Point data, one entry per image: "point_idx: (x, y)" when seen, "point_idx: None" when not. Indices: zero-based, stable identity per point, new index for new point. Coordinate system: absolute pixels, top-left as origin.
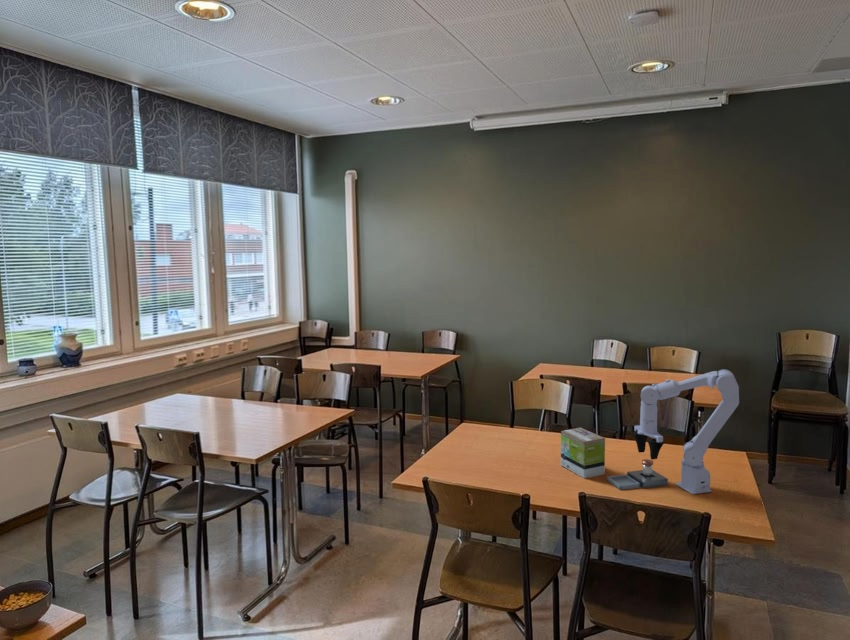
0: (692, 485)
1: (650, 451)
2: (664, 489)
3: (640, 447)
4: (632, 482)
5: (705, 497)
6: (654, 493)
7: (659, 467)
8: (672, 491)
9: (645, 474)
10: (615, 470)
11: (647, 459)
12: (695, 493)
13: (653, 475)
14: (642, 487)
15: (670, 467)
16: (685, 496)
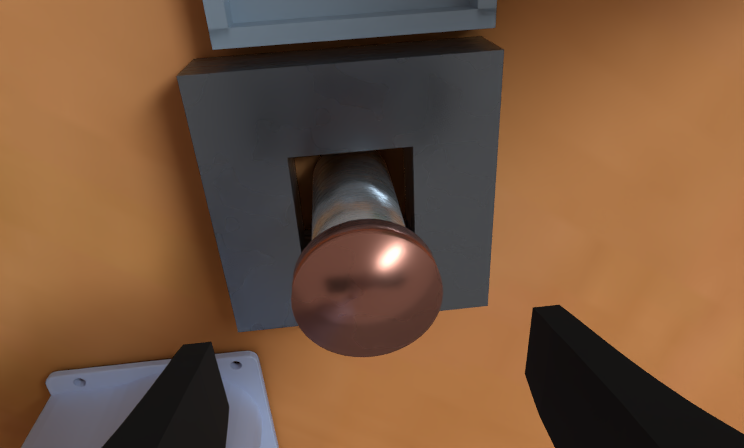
0: (63, 427)
1: (147, 443)
2: (161, 234)
3: (569, 384)
4: (329, 12)
5: (4, 416)
6: (60, 105)
7: None
8: (115, 272)
9: (329, 185)
10: (704, 22)
11: (430, 324)
12: (54, 391)
13: None
14: (204, 59)
15: None
16: (9, 313)
